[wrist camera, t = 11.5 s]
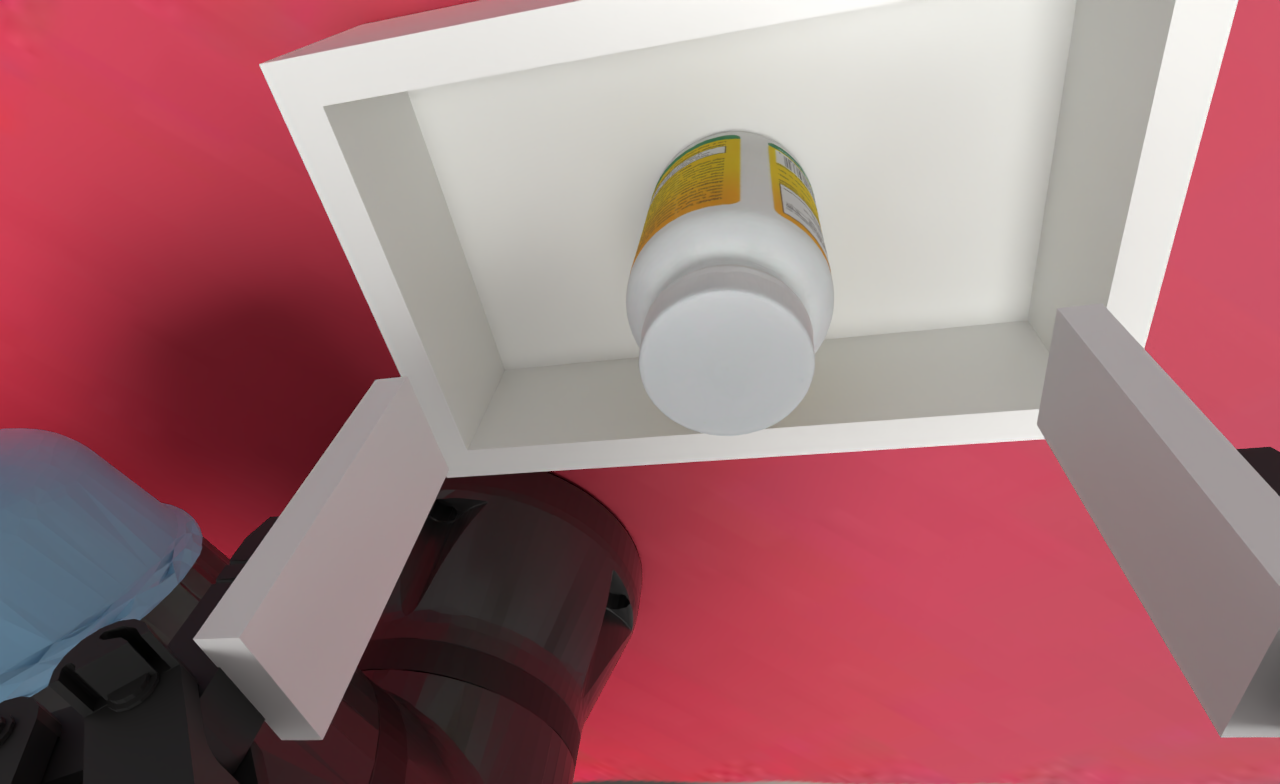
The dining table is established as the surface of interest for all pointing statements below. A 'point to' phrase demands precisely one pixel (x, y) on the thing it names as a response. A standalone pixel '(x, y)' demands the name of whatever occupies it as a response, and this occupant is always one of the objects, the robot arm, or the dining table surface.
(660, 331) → the supplement bottle
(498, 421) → the tote
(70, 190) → the dining table surface
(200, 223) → the dining table surface
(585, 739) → the dining table surface
